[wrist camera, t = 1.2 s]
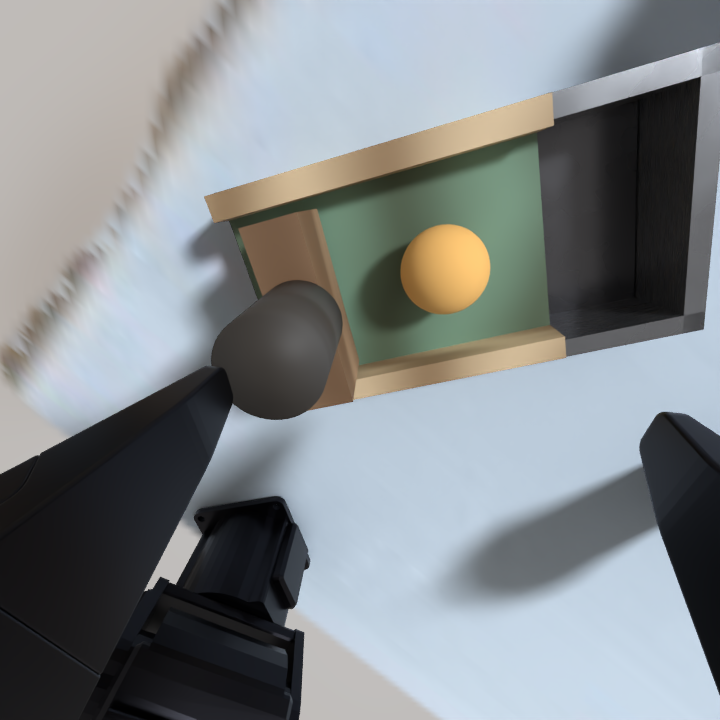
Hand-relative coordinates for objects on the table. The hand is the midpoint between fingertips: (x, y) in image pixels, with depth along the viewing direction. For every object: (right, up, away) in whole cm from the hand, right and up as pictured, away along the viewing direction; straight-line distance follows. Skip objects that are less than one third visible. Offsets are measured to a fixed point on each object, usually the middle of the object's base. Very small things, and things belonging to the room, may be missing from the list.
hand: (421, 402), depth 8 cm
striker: (-3, +4, +9) cm, 11 cm away
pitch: (0, +6, +11) cm, 12 cm away
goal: (+9, +8, +9) cm, 15 cm away
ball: (+2, +5, +9) cm, 10 cm away
